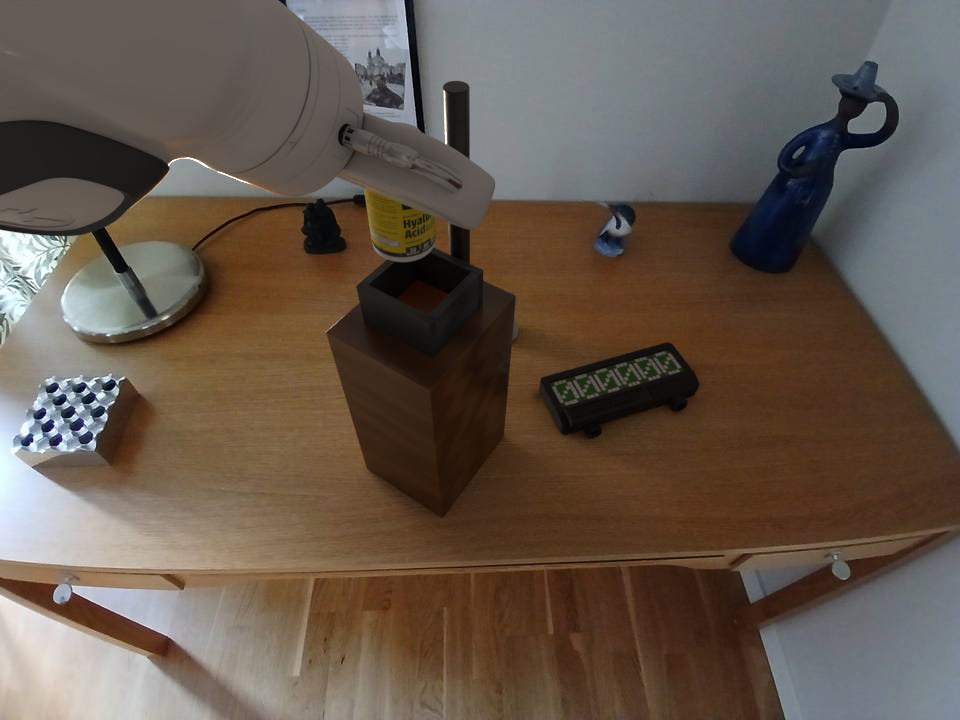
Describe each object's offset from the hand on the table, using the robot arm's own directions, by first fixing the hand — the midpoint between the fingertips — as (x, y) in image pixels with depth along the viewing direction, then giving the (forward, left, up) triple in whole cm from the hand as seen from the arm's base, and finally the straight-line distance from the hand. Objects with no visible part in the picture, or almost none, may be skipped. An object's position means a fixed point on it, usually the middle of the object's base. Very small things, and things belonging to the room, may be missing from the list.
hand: (403, 182), depth 43 cm
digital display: (+27, 0, -39) cm, 48 cm away
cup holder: (0, -2, -39) cm, 39 cm away
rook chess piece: (+15, +16, -39) cm, 45 cm away
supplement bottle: (0, 0, -6) cm, 6 cm away
